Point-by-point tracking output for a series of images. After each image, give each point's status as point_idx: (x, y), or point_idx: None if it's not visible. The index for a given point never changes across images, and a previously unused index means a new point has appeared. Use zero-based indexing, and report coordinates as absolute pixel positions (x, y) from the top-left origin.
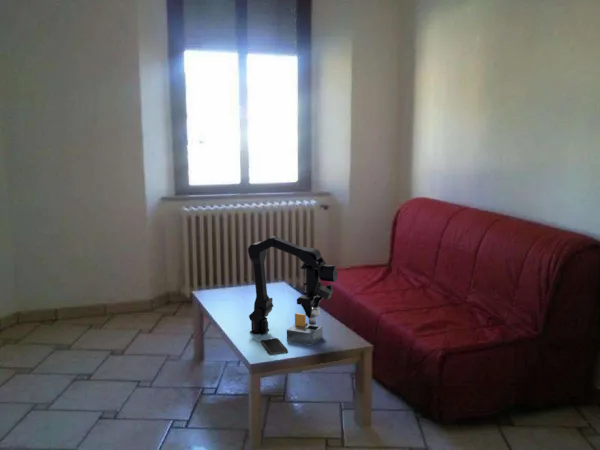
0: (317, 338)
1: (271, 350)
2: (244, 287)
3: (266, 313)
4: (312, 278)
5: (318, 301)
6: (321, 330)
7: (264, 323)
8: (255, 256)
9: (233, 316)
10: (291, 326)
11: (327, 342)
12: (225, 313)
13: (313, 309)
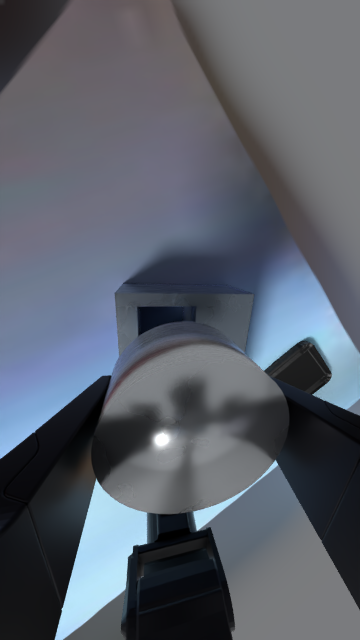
0: (185, 286)
1: (310, 384)
2: None
3: (202, 565)
4: None
5: (14, 531)
6: (132, 289)
7: None
8: None
9: (84, 583)
10: None
11: (175, 236)
12: (74, 604)
13: (270, 404)
